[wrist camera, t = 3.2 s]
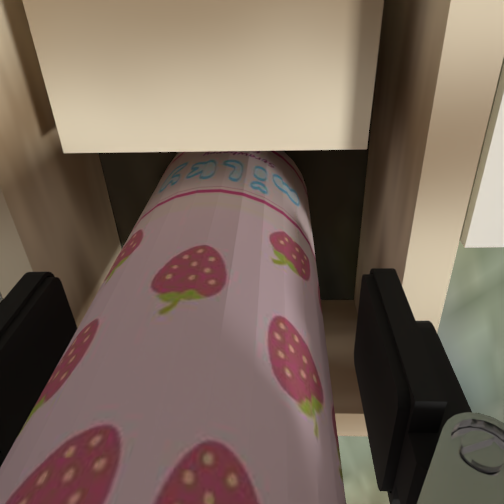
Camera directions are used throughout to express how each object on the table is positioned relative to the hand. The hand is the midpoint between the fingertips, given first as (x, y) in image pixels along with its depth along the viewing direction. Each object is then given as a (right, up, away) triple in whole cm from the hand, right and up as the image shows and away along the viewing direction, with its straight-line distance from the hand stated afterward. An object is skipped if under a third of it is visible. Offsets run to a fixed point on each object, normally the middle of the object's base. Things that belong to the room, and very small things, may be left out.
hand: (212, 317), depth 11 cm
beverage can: (0, +4, +6) cm, 7 cm away
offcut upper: (0, +8, +1) cm, 8 cm away
